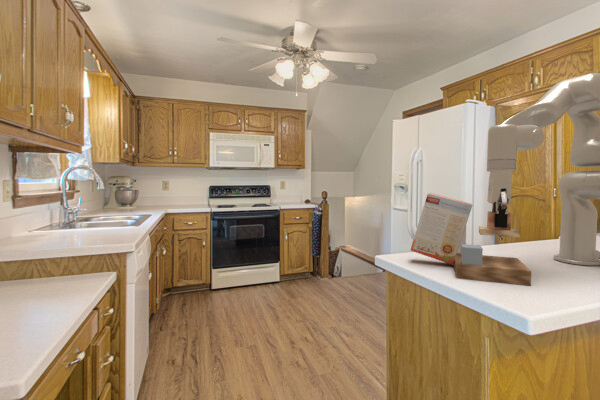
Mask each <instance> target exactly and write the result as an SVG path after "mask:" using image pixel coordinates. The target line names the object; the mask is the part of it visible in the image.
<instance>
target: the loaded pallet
mask: <svg viewBox="0 0 600 400" xmlns="http://www.w3.org/2000/svg"><path fill="white" fill-rule="evenodd" d="M507 212H508V213H507V214H508V219H507V228H497V227H494V220H495V214H496V212H492V210H491V211H489V210H488V211H487V220H486V221H487V222H486V226H478V233H479V235H480V236H494V237H495V236H496V237H509V238H520V237H521V235H520V234H521V231H520V230H519V229H518V228H512V213H511V212H509V211H507Z"/></svg>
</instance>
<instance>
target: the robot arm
mask: <svg viewBox="0 0 600 400" xmlns="http://www.w3.org/2000/svg"><path fill="white" fill-rule="evenodd" d="M597 111H600V72H590V73H586V74H583V75H578V76H575V77H570V78H567V79H564V80H561V81H558V82H556V83H555V84H554V85H552V87H551V88H549V90H547V92H545V94H543V96H541V97H540V99H539V100H537V102H535V103H534V104H532V105H530V106H529V107H526V108H525V109H522V110H521V111H520V112H518V113H516V114H514V115H512V116H511V117H509V118H507V119H506V120H504V121H503V122H502V123H501V124H495V125H493V126H490V128H489V129H488V132H487V152H486V153H487V157H486V172H489V177H488V178H489V179H488V187H487V189H488V190H487V200H486V201H487V202H488V203H489V204H491V205H492V207H491V212H496V214H495V220H494V227H497V228H507V219H508V214H507V213H508V212H509V211H508V205H510V204H511V201H512V191H513V190H512V189H513V188H512V187H513V186H512V185H513V172H516V171H517V159H518V158H517V153H518V152H522V151H530V150H534V149H537V148H539V147H540V146H542V144H543V142H544V141H545V132H544V130H543V129H542V128H545V127H548V126H550V125H553V124H555V123H556V122H558V121H559V120H560V119H561V118H562V117H563V116H564V115H565V114H567V115H568V117H569V118H570V121H571V123H572V125H573V134H572V135H573V136H572V137H573V138H572V142H571V147H570V153H569V163H570V165H572V166H573V167H575V168H585V169H587V168H589V169H590V168H593V169H594V168H600V115H599V114H598V113H596V112H597ZM558 190H559V195H560V202H561V212H560V231H559V232H560V234H559V236H560V237H559V249H558V250H559V251H558V253H556V254H554V255H553V259H554V260H555V261H557V262H562V263H565V264H566V263H567V264H571V265H579V266H580V265H581V266H591V267H592V266H595V267H596V266H600V251H599V250H597V249H596V247H597V234H598V233H597V232H598V231H597V230H598V229H597V228H598V210H597V208H596V206H595V205H594V203H593V202H592V201H591V200H600V170H575V171H574V170H573V171H569V172H566V173H565V174H562V176H561V177H560V179H559V182H558Z"/></svg>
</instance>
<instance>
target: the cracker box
mask: <svg viewBox="0 0 600 400" xmlns="http://www.w3.org/2000/svg"><path fill="white" fill-rule="evenodd" d="M424 201H425V202H424V204H423V207H422V211H421V214H420V217H419V221H418V224H417V227H416V231H415V232H414V233H415V234H414V237H413V240H412V244H411V247H410V251H411V252H414V253H416V254H420V255H422V256H425V257H428V258H431V259H435V260H437V261H440V262H443V263H446V264H448V265H453V263H454V255H456V254H457V251H458V248H459V245H460V242H461V239H462V236H463V233H464V230H465V227H466V228H467V223H468V221H469V217H470V214H471V211H472V208H473V205H474V204H472V203H471V202H467V201H463V200H459V199H456V198H452V197H447V196H444V195H441V194H436V193H432V192H427V195H426V199H425V200H424ZM453 266H454V265H453Z"/></svg>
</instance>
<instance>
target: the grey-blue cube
mask: <svg viewBox="0 0 600 400" xmlns="http://www.w3.org/2000/svg"><path fill="white" fill-rule="evenodd" d="M483 249H484V248H482V246H481V245H479V244H468V243H467V244H461V262H462V264H464V265H475V266H482V255H483Z"/></svg>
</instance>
